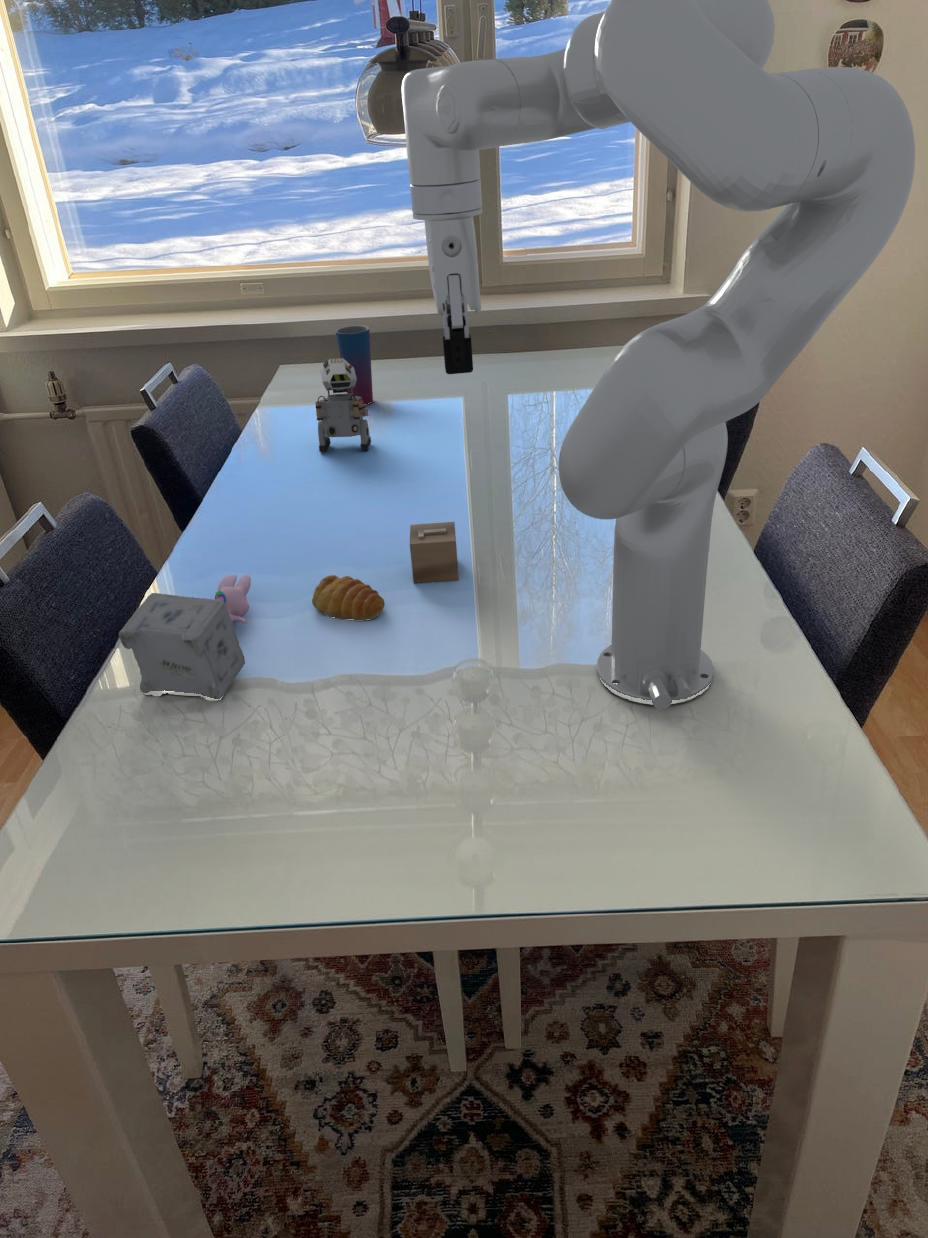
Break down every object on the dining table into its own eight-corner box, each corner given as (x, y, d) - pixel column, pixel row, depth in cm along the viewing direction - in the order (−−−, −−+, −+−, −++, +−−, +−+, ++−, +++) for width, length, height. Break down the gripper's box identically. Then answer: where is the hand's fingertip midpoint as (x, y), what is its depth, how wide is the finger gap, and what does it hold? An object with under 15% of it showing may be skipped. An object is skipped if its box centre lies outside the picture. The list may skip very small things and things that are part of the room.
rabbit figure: (242, 660, 114) (266, 584, 125) (231, 623, 110) (257, 548, 122) (192, 661, 114) (221, 586, 126) (179, 624, 111) (210, 550, 122)
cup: (339, 407, 193) (329, 333, 185) (352, 396, 199) (343, 324, 191) (370, 408, 191) (361, 333, 184) (382, 397, 197) (374, 325, 189)
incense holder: (136, 702, 105) (112, 623, 100) (176, 662, 112) (156, 586, 107) (213, 713, 102) (193, 632, 97) (249, 671, 109) (232, 593, 104)
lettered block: (458, 581, 125) (455, 538, 122) (413, 584, 125) (409, 542, 122) (457, 560, 130) (454, 519, 127) (414, 563, 130) (410, 522, 127)
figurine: (376, 433, 178) (367, 354, 170) (366, 455, 168) (356, 372, 160) (329, 434, 179) (318, 356, 171) (316, 456, 169) (304, 374, 161)
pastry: (397, 606, 121) (394, 580, 119) (366, 631, 116) (362, 604, 114) (339, 591, 125) (336, 565, 123) (307, 614, 120) (303, 588, 118)
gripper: (487, 205, 94) (497, 386, 103) (476, 190, 107) (486, 352, 116) (412, 211, 94) (429, 392, 103) (410, 196, 106) (425, 357, 116)
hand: (459, 371), depth 109 cm, fingers closed
